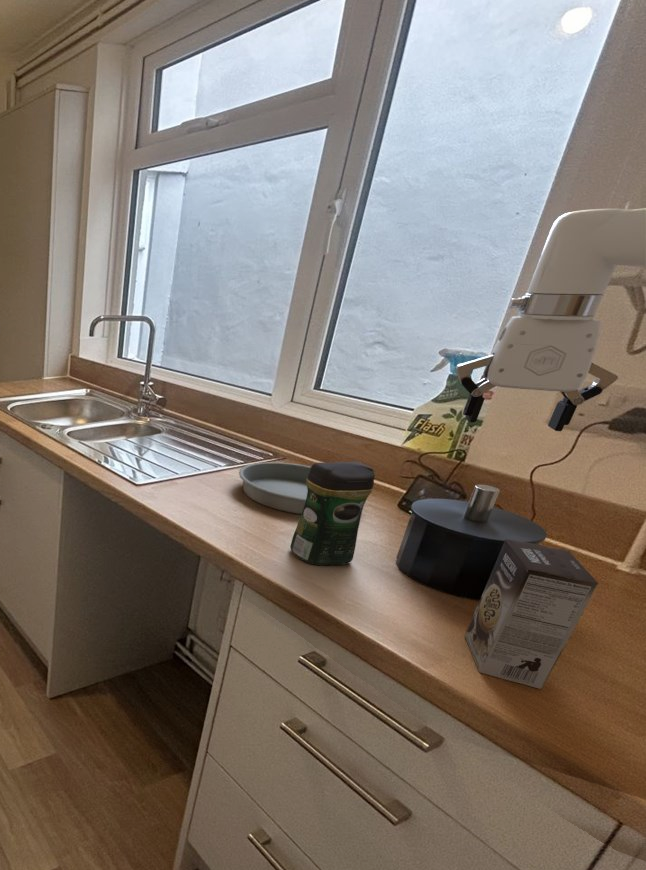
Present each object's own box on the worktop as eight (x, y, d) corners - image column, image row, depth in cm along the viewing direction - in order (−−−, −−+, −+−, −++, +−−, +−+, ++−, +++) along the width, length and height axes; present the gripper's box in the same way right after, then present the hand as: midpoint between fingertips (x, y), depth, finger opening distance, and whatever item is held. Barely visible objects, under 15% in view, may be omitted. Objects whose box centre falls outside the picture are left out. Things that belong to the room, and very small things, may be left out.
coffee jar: (330, 545, 102) (355, 455, 95) (359, 566, 95) (389, 470, 88) (281, 547, 102) (303, 456, 95) (306, 568, 94) (332, 471, 87)
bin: (500, 567, 94) (523, 514, 90) (528, 612, 82) (556, 553, 78) (391, 545, 102) (408, 496, 98) (402, 584, 89) (421, 529, 85)
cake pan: (242, 511, 117) (246, 492, 116) (230, 474, 139) (233, 457, 137) (372, 525, 110) (378, 506, 108) (338, 484, 131) (342, 467, 130)
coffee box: (461, 635, 77) (503, 537, 71) (521, 650, 74) (570, 548, 67) (477, 673, 69) (525, 567, 63) (544, 691, 66) (602, 582, 60)
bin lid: (525, 517, 91) (540, 480, 88) (561, 559, 77) (580, 518, 75) (403, 497, 99) (414, 464, 96) (417, 532, 85) (430, 495, 83)
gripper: (484, 307, 75) (444, 423, 82) (662, 311, 67) (601, 439, 74) (471, 304, 81) (434, 412, 88) (634, 308, 73) (579, 426, 80)
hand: (511, 424), depth 81 cm, fingers open, 9 cm apart
